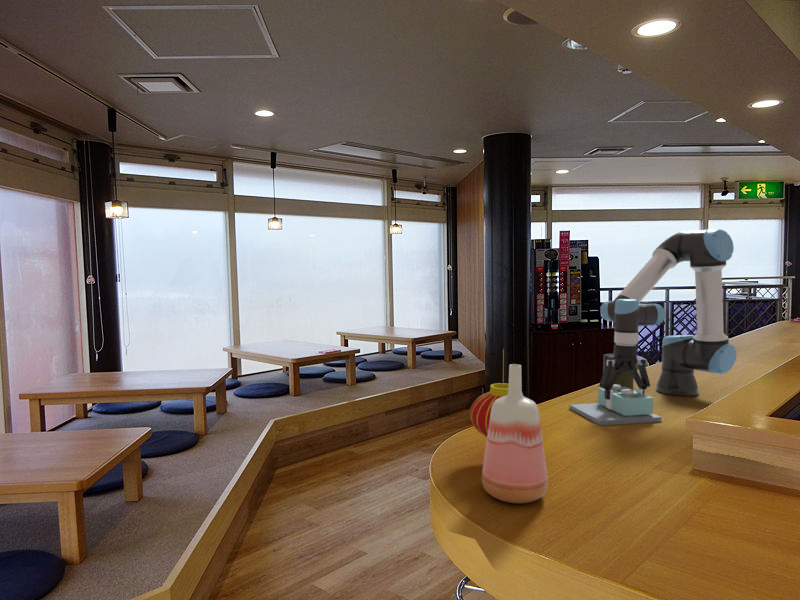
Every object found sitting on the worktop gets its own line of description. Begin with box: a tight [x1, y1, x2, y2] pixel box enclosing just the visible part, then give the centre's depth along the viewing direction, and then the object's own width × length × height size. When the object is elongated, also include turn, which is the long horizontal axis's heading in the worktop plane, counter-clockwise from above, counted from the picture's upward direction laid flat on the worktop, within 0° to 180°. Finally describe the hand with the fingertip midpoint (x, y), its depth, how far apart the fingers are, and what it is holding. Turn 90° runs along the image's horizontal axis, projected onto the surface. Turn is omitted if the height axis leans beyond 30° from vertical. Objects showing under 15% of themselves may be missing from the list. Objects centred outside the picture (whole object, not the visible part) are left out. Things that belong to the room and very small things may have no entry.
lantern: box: [469, 348, 509, 438], centre depth 138 cm, size 17×17×30 cm
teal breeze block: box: [597, 387, 654, 416], centre depth 181 cm, size 10×16×6 cm, turn 10°
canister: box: [602, 351, 634, 390], centre depth 198 cm, size 11×10×20 cm
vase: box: [481, 363, 548, 504], centre depth 117 cm, size 14×14×30 cm
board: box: [569, 384, 662, 426], centre depth 180 cm, size 22×20×9 cm
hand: (624, 407), depth 181 cm, fingers closed on teal breeze block, 10 cm apart
